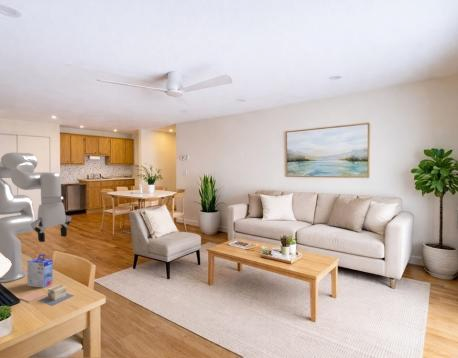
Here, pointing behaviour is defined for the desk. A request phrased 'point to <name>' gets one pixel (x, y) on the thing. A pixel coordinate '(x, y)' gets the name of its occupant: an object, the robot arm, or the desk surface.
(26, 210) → the robot arm
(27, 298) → the terracotta tile
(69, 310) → the desk surface
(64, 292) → the maple block
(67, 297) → the gray board
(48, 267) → the ink cartridge box
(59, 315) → the desk surface
